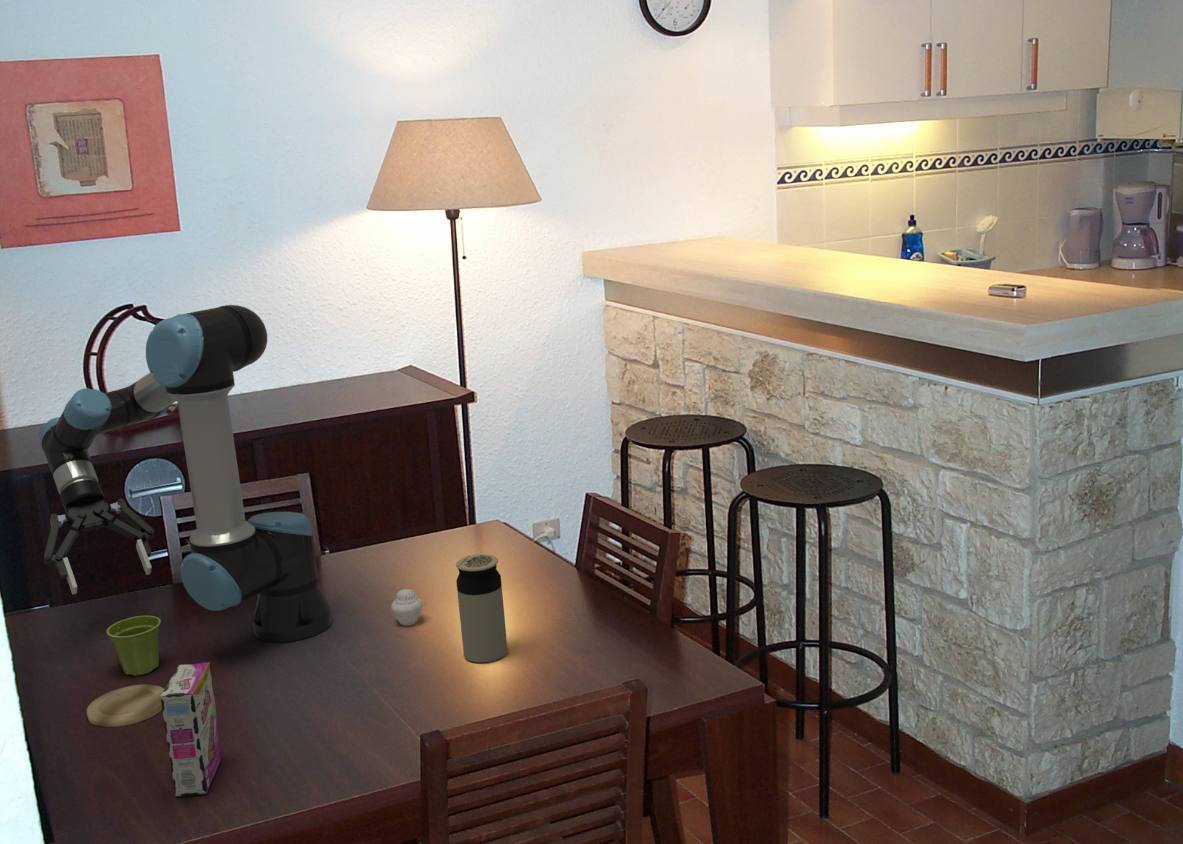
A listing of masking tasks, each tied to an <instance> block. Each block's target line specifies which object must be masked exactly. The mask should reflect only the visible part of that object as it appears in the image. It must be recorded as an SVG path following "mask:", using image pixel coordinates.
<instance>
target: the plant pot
mask: <svg viewBox="0 0 1183 844" xmlns="http://www.w3.org/2000/svg"><path fill="white" fill-rule="evenodd" d="M161 620H162V619H161V618H160V617H157V616H154V615H137V616H132V617H128V618H126V619H122V620H120V621H116V622H114V623H113V624H112V625H110V626H108V628H107V629H106V635H107V636H108V637H109V638H110V640H111V642H112V643H113V645H114V647H115V650H116V653H117V655H118V659H119V661H120V665H121V667H122V670H123V673H124V674H125V675H127V676H128V675H131V676H135V677H136V676H143V675H145V674H149V673H151V672H153V670H154V669H157V668H158V667H159V666H160V665H159V664H160V662H159V661H160V660H159V659H160V658H159V631H160V626H161V623H162V621H161Z"/></svg>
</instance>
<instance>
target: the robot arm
mask: <svg viewBox="0 0 1183 844" xmlns="http://www.w3.org/2000/svg"><path fill="white" fill-rule="evenodd" d="M267 344H268V332H267V328H266V326H265V324H264V321H263V320H262V318H261V317H260V316H259V315H258V314H257V313H255V311H253V310H251V309H250V308H247V307H246V306H241V305H238V304H227V305H221V306H218V307H213V308H212V307H211V308H207V309H203V310H196V311H192V312H187V313H180V314H179V313H178V314H176V315H174V316H172V317H168V318H165V319H162V320H160V321H159V322H158V323H156V324H155V326H153V329H152V330H151V331H150V332H149V334H148V336H147V340H146V344H145V360H146V364H147V368H148V370H149V372H148V373H147V374H146V375H144V376H143V377H140V378H139V380H137V381H135V382H134V383H132V384H130V385H128V386H125V387H123V388H119V389H116V390H111V391H108V392H102V391H101V390H99V389H91V388H89V387H87V388H86V387H84V388H81V389H79V390H77V391H76V392H75V393H74V394H73V395H72V397H71V398H70V400H68V402H67V403H66V404H65V407H64V409H63V411H62V412H61V414H60V416H59V417H58V416H57V417H54V418H50V419H49V420H48V421H47V423H43V424H42V425H41V427H40V429H39V430H38V431H39V433H38V436H39V439H40V445H41V448H42V451H43V453H44V456H45V458H46V461H47V464H48V467H49V470H50V472H51V475H52V477H53V480H54V483H55V486H56V489H57V491H58V494H59V495H60V496H59V497H60V500H61V503H62V505H63V509H64V512H65V514H61V515H60V514H59V515H58V514H57V513H51V515H50V522H49V524H50V531H49V534H48V535H49V536H48V539H47V542H46V547H45V551H44V555H43V564H44V565H46V566H48V565H51V564H52V565H54V567H56V569H57V572H58V576H59V577H60V579H62V580H63V579H66V580H67V583H68V585H69V589H70V591H71V594H72V595H77V593H78V585H77V581H76V579H75V575H74V573H73V570H72V567H71V564H70V561H69V559H68V557H67V555H68V554H69V551H70V550H71V547H72V546H73V544H74V543H75V541H76V539H78V537H79V534H80V532H84V533H85V534H86V533H90V532H92V531H99V530H102V529H103V528H105V529H108V530H110V531H111V530H113V531H114V532H116V533H118V534H120V535H121V536H124V537H126V538H128V539H129V540H131V541H133V542H135V543H136V544H135V545H136V546H135V549H136V551H137V553H138V557H139V559H140V561H141V564H142V568H143V570H144V572H145V575H146V576H148V575H151V574H152V573H151V572H152V568H153V567H152V564H151V562H150V559H149V557H151V553H152V549H151V546H150V544H149V540H152V539H153V538H154V534H155V529H154V528H153V527H152V526H151V525H149V524H148V523H147V522H146V521H145V520H144V519H142V517H140V516H139V515H138V514H137V513H135V512H134V511H133V510H132V509H131V508H129V507H128V505H127V503H126V501H125V499H124V498H118V499H117V502H114V503H110V504H109V502H107V501H106V498H105V494H104V491H103V490H102V486H101V484H100V483H99V479H98V476H97V473H96V471H95V469H94V466H93V462H92V460H91V456H90V453H89V451H88V450H89V448H90V447H91V446H92V444H93V443H94V442H95V441H94V440H95V439H96V438H97V436H98V435H100V434H104V433H107V432H111V431H114V430H118V429H121V428H124V427H127V426H130V425H134V424H137V423H141V422H145V421H151V420H154V419H156V418H158V417H161V416H163V415H165V414H166V413H167V411H168V408H169V407H170V406H172V404H174V403H177V409H178V416H179V422H180V430H181V435H182V441H183V447H184V453H185V461H186V467H187V473H188V474H187V475H188V480H189V487H190V493H191V499H192V500H191V501H192V505H193V511H194V517H195V519H194V520H195V524H196V525H195V526H196V529H195V530H194V532H192V534H191V535H190V537H189V544H190V550H191V551H190V552H191V553H189V554H188V555H186V556H185V557H184V558H183V560H182V562H181V563H180V570H179V572H180V578H181V582H182V584H183V586H184V588H185V590H186V592H187V593H188V594H189V596H190V598H192V599H193V600H194V601H195V602H196V603H197V604H198V605H199V606H201V607H203V608H204V609H206V610H209V611H214V612H216V611H219V612H220V611H223V610H226V609H227V608H228V609H229V608H230V607H235V606H237V605H239V604H240V603H242V602H243V601H246V600H248V599H250V598H252V597H253V596H254V597H255V596H256V595H257V598H256V599H257V600H256V604H255V605H256V606H255V609H254V614H253V620H252V627H253V633H254V634H253V635H254V636H255V637H256V638H258V639H260V640H262V641H264V642H265V641H266V642H273V643H283V642H284V643H286V642H294V641H295V642H296V641H299V640H304V639H307V638H310V637H314V636H316V635H318V634H321V633H322V632H324V631H325V630H328V628H329V627H330V626H331V625H332V624H333V620H334V619H333V614H332V613H333V612H332V608H331V606H330V604H329V601H327V600H328V599H327V598H326V596H325V594H324V592H323V590H322V588H321V586H320V583H319V577H318V568H317V560H316V553H315V544H314V533H313V531H312V527H311V526H312V525H311V522H310V521H311V520H310V518H309V517H308V516H307V515H305V514H303V513H300V512H295V511H294V512H293V511H273V512H272V511H270V512H263V513H258V514H256V515H252V516H250V517H249V518H248V519H247V520H246V516H245V515H246V514H245V508H244V503H243V502H244V501H243V495H242V488H241V487H242V486H241V480H240V473H239V467H238V461H237V460H238V459H237V452H236V446H235V439H234V433H233V432H234V431H233V424H232V418H231V410H230V404H229V398H228V395H229V393H230V392H231V391H232V389H233V388H234V387H235V386H236V384H235V378H234V377H235V376H234V373H235V372H238V371H240V370H242V369H244V368H245V367H247V366H249V365H252V364H254V363H256V362H257V361H258V360H259V359H260V358H261V357H262V355H264V353H265V350H266V348H267ZM112 512H115V513H116V514H118V515H120V516H121V517H122V518H123V519H124V520H125V521H126V522H127V523H125V522H124V521H122V520H120V519H117V518H116V516H115V515H113V514H112ZM65 522H66V523H67V524H68V525H70V526H71V527H70V530H69V531H68V533H67V534H66V536H65V538H64V540H63V541H62V544H61V545H60V547H59V549H58V550H57V551H56V554H54V551H55V546H56V542H57V539H58V534H59V528H61V527H63V524H64V523H65ZM128 523H129V524H130V525H129V524H128Z"/></svg>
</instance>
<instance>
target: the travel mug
mask: <svg viewBox="0 0 1183 844" xmlns="http://www.w3.org/2000/svg"><path fill="white" fill-rule="evenodd" d="M498 562H499V559H498V557H497V556H495V555H491V554H486V553H483V554H482V553H479V554H478V553H477V554H471V555H466V556H464V557H461V558H460V559H459V560H457V561H456V563H455V567H456V568H457V569H458V573H459V574H458V576H457V578H456V590H457V591H456V592H457V601H458V609H459V610H458V611H459V612H458V613H459V620H460V630H461V640H462V649H463V650H462V651H463V657H464V658H465V659H466V660H468V661H469V662H470V661H471V662H474V663H491V662H496V661H497V660H500V659H501V658H503V657H504V656H506V655H507V654H508V651H509V649H508V639H507V638H508V637H507V629H506V618H505V606H504V595H503V586H502V576H501V574H500V572H499V571H498V569H497V564H498Z"/></svg>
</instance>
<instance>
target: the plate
mask: <svg viewBox="0 0 1183 844" xmlns="http://www.w3.org/2000/svg"><path fill="white" fill-rule="evenodd" d="M164 690H165V688H164V687H162V686H159V685H154V684H136V685H135V684H133V685H129V686H125V687H120V688H117V689H114V690H111V691H108V692H106V693H105V694H104V693H103V694H102V695H100V696H98V697H97V698H96V699H94V700H93V701H92V702H90V704H89V705H88V706H87V708H86V715H87V719H88V721H89V723H90V724H92V725H94V726H98V727H102V728H117V727H124V726H129V725H134V724H136V723H140V722H142V721H145V720H148V719H150V718H152V717H154V716H155V715H157V714H159V713H160V712H162V704H161V698H160V696H161V694H162V693H163V691H164Z"/></svg>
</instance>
